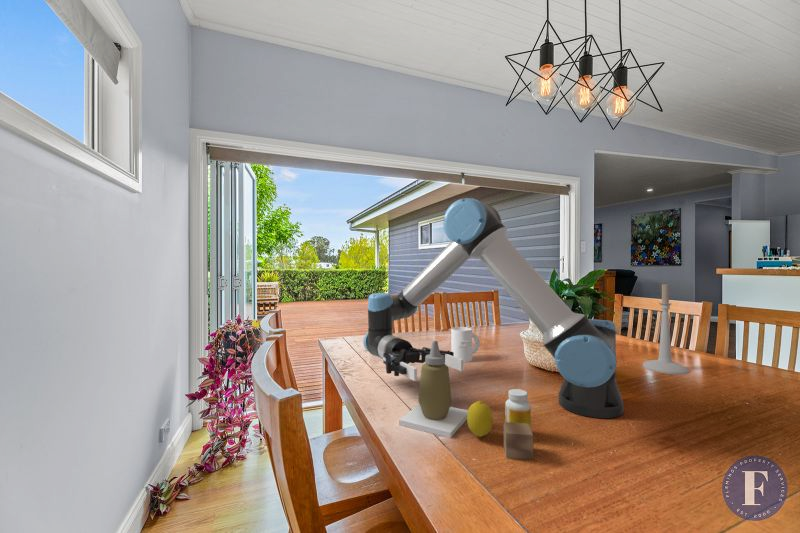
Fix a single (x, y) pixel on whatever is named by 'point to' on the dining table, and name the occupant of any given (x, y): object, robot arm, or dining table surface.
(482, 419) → the lemon
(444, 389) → the squeeze bottle
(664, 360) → the candlestick
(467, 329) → the mug
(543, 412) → the dining table surface
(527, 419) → the supplement bottle
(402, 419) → the grey board
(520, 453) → the grey cube
